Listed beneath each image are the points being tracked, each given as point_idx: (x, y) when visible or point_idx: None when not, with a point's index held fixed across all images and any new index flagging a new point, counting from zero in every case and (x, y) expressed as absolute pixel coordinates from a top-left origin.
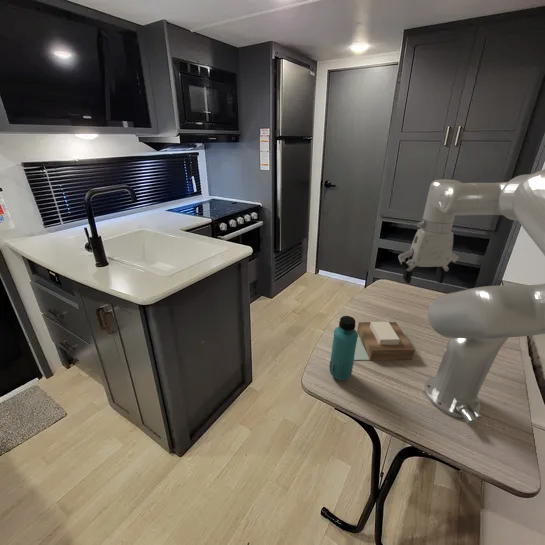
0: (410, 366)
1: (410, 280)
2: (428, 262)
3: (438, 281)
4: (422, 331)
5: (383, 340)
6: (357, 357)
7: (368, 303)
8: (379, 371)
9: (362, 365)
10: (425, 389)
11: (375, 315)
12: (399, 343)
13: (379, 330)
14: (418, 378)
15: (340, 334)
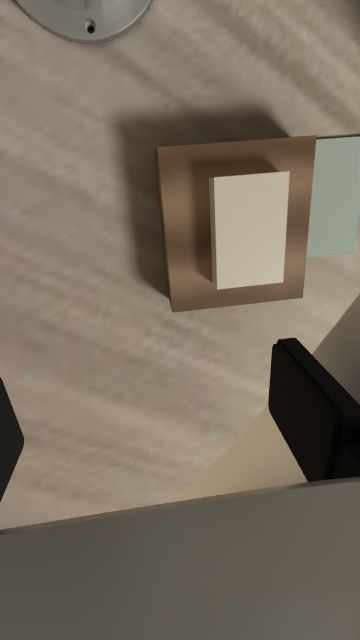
0: (170, 115)
1: (286, 354)
2: (259, 604)
3: (2, 394)
4: (71, 307)
5: (275, 172)
6: (333, 149)
7: (204, 425)
8: (284, 83)
9: (328, 113)
10: None
11: (201, 370)
12: (202, 184)
13: (270, 231)
14: (163, 48)
15: None
